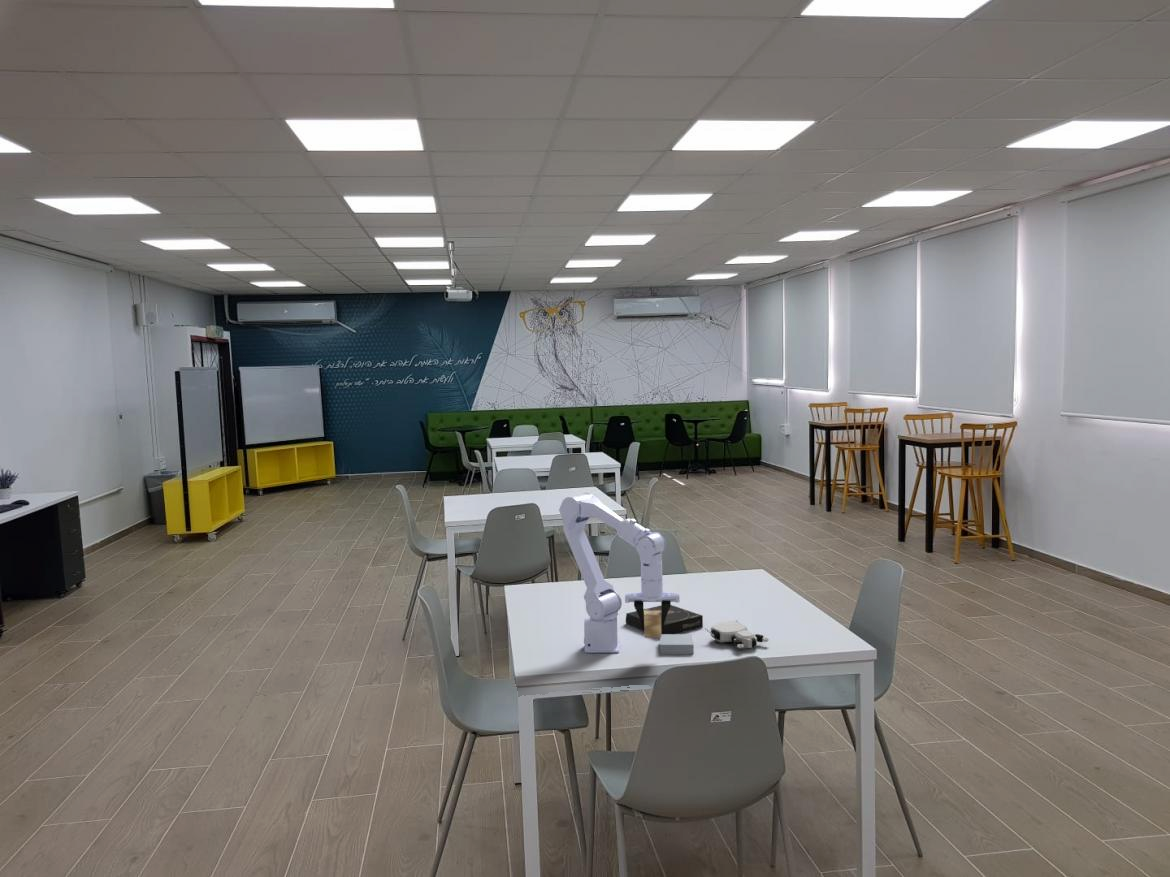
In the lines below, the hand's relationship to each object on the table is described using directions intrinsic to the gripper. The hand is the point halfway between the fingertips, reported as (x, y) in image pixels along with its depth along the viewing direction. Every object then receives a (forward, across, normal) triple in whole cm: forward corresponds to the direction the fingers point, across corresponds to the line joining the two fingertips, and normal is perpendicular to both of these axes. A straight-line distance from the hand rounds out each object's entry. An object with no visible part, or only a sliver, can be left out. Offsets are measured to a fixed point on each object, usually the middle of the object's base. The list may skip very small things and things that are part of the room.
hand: (652, 628), depth 217 cm
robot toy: (+9, +24, +13) cm, 28 cm away
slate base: (+9, +6, +8) cm, 14 cm away
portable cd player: (+9, +3, +29) cm, 31 cm away
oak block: (+2, 0, 0) cm, 2 cm away
